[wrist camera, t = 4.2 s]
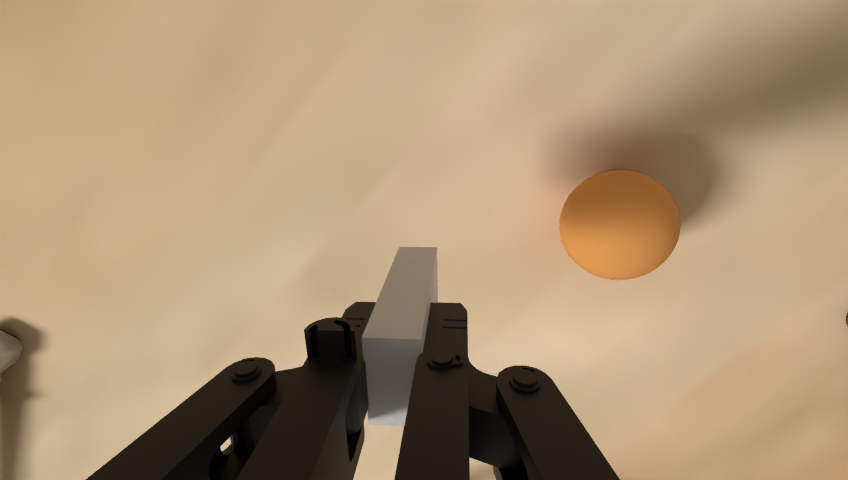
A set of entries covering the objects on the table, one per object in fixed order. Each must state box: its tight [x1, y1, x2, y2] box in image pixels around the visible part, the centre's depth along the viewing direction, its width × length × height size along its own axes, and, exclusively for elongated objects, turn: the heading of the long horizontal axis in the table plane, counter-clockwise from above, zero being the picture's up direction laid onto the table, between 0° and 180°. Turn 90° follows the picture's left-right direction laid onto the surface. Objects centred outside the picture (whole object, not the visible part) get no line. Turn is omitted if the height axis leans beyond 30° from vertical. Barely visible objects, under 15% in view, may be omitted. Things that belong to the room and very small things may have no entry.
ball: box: [560, 170, 680, 280], centre depth 21 cm, size 6×6×6 cm
